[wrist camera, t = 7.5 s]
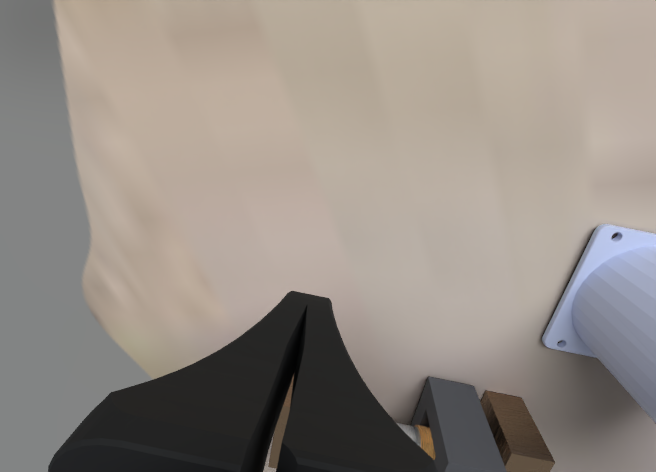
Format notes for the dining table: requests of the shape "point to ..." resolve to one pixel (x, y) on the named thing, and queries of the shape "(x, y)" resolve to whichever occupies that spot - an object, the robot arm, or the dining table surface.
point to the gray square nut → (457, 428)
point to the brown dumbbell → (504, 421)
